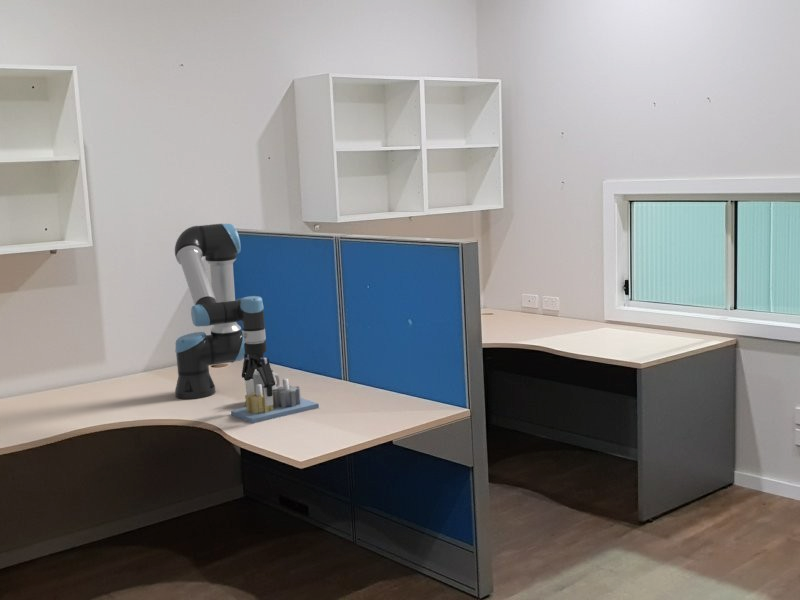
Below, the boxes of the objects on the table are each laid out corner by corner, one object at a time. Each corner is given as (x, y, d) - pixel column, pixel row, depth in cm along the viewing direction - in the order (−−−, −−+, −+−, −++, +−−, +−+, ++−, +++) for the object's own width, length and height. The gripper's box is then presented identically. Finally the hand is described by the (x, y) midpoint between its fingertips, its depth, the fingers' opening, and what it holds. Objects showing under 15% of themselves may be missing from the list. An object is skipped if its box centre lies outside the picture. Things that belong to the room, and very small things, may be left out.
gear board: (231, 414, 325) (228, 385, 323) (296, 400, 340) (293, 371, 338) (252, 423, 312) (249, 392, 310) (318, 407, 327) (316, 378, 325)
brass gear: (241, 410, 323) (240, 395, 323) (266, 405, 329) (264, 389, 328) (254, 415, 316) (253, 399, 315) (279, 409, 321) (278, 394, 320)
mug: (264, 405, 335) (262, 375, 333) (248, 402, 340) (246, 373, 338) (288, 397, 344) (286, 368, 342) (272, 395, 349) (269, 366, 348)
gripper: (228, 338, 327) (234, 397, 330) (262, 348, 307) (267, 410, 310) (248, 335, 331) (252, 393, 334) (282, 344, 311) (287, 406, 314)
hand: (259, 401), depth 322 cm, fingers open, 13 cm apart
